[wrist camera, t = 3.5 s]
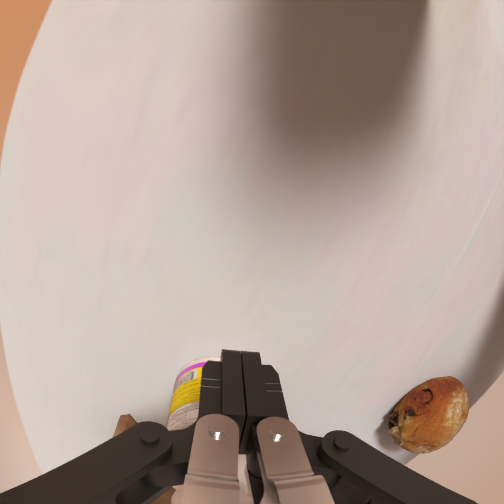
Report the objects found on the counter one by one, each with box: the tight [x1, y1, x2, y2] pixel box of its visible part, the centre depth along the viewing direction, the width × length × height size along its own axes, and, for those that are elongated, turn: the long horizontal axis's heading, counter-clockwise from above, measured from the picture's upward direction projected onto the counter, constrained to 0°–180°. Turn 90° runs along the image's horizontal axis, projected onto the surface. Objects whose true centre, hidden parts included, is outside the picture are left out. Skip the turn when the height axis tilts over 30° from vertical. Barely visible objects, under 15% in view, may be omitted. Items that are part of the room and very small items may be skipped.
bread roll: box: [388, 376, 469, 454], centre depth 26 cm, size 10×10×8 cm
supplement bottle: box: [167, 357, 251, 504], centre depth 18 cm, size 7×7×13 cm
